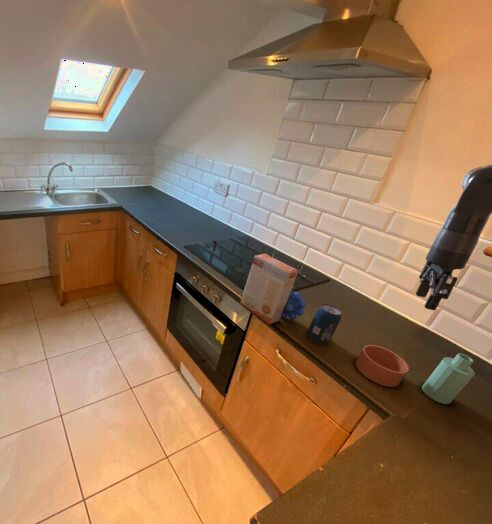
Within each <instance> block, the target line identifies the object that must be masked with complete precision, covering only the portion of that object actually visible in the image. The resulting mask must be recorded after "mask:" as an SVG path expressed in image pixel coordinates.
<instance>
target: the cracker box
mask: <svg viewBox="0 0 492 524" xmlns="http://www.w3.org/2000/svg"><path fill="white" fill-rule="evenodd" d="M298 274H299V270H298V269H296V268H295V267H293V266H290V265H288V264H286V263H284V262H282V261H281V260H278V259H277V258H275V257H273V256H271V255H269V254H267V253H261V254H256V255H254V256H253V260H252V264H251V267H250V269H249V273H248V275H247V280H246V283H245V285H244V289H243V292H242V296H241V298H240V302H239V304H240V305H242V306H243V307H244V308H246V309H247V310H249V311H250V312H251V313H253V314H254V315H255V316H257V317H259V318H260V319H261V320H262V321H264V322H265V323H266V324H268V325H271V324H274V323H275V324H276V323H277V322H280V320H281V318H282V317H281V315H282V312H283V310H284V307H285V305H286V302H287V300H288V297H289V295H290V292H291V289H292V290H293V286H294V284H295V281H296V280H297V276H298Z"/></svg>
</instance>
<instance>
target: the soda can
mask: <svg viewBox="0 0 492 524" xmlns="http://www.w3.org/2000/svg"><path fill="white" fill-rule="evenodd" d="M341 320H342V311H341V309H340V308H338V307H337V306H335V305H332V304H328V303H323V304H321V306H319V307H317V309H316V311H315V313H314V316H313V318H312V320H311V322H310V325H309V327H308V328H307V335H308V337H309V339H310V340H312V341H313V342H315V343H317V344H320V345H324V344H327V343H329V342H330V341H331V339H332V337H333V336H334V334H335V332H336V330H337V328H338V326H339V324H340V322H341Z"/></svg>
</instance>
